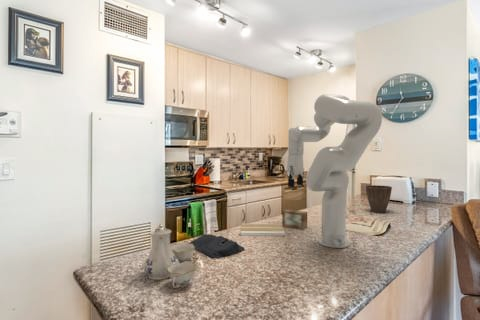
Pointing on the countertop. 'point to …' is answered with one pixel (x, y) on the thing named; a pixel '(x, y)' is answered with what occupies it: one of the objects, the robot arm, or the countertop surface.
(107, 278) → the countertop surface
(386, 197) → the plant pot
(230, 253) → the dark folded cloth
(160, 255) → the chinaware
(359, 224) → the grape print plaque
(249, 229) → the ledge board
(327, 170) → the robot arm
